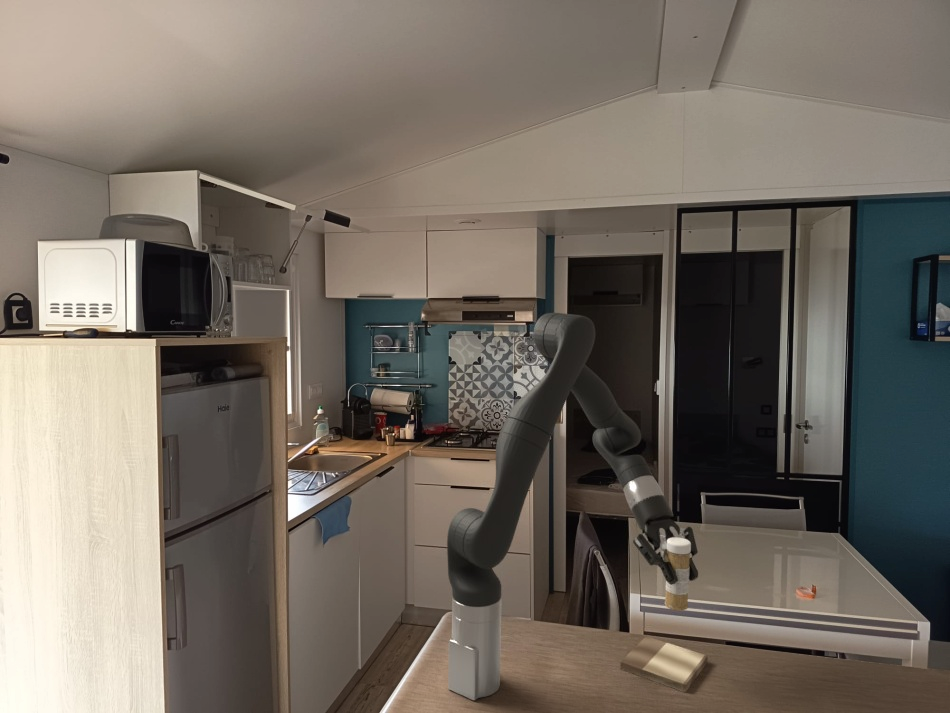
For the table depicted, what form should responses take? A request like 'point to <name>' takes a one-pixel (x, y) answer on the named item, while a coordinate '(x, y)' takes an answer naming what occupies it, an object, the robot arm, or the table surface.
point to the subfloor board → (665, 663)
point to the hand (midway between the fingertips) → (684, 580)
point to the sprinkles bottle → (678, 573)
